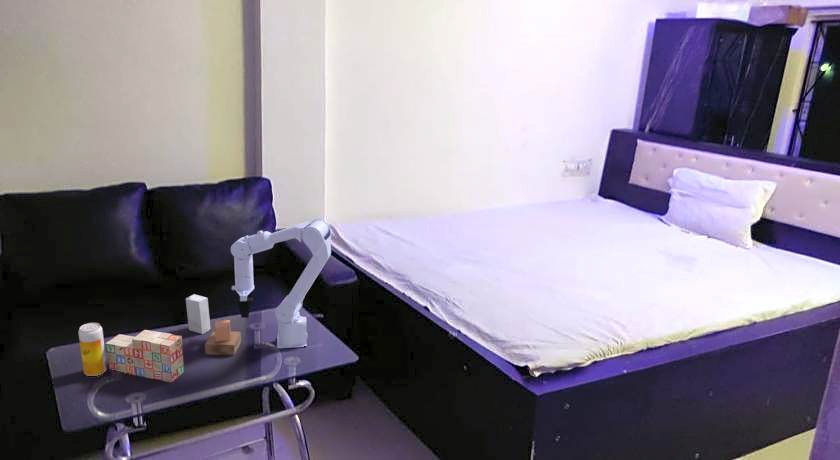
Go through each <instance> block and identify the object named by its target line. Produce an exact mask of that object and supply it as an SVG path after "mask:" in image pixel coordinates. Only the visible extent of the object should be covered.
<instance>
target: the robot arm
mask: <svg viewBox="0 0 840 460" xmlns="http://www.w3.org/2000/svg"><path fill="white" fill-rule="evenodd" d="M332 233H333V232H332V229H331V227H330V225H329V223H328V222H327V221H326V220H324V219H322V218H317V219H314V220H313V221H312V220H307V221H304V222H301V223H297V224H295V225H292V226H289V227H287V228H283V229H281V230H278V231H275V232H270V231H267V230H266V231H264V230H258V231H257V233H256V234H251V235H244V236H242V237H240V238H239V239H236V241H235V242H233V243H232V245H231V246H230V253H231V255H232V257H233V262H234V263H233V264H234V283H235V284H234V285H231V290H232V291H236V293H237V294H238V297H236V296H235V298H234V302H235V304H236V305H237V308H238V310H239V314H240V317H241V318H243V319H245V318H247V319H248V318H249V315H250V310H251V309H250V308H251V306H252V303H253V301H254V297H252V295H253V292H254V290H255V284H254V260H253V259H254V258H253V255H254V254H258V253H261V252H264V251H267V250H270V249H272V248H274V245H275V244H277V243H281V242H286V241H288V240H292V239H296V240H297V241H298V242H299V243H302V242H303V243H304V244H305V245H306V247H307V248H308V249H309V251H310V252H311V254H312V257H311V258H310V260H309V262H308V263H307V265H306V267H305V268H304V270H303V271H302V273H301V274H300V276H299V278H298V279H297V280H296V283H295V284H294V285H293V288H292V289H291V290H290V292H289V294H287V295H286V296H285V297H284V299H283V300H282V301H281V303H279V305H278V306H277V307H276V308H275V310H274V315H275V318H276V319H277V332H278V333H277V337H276V348H277V349H289V348H290V349H292V348H305V347H304V346H306V347H307V345H308V344H307V339H308V332H307V317H306V316H301V314H300V310H301V309H302V307H303V301H304V299H305V296H306V295H307V293H308V291H309V290H310V288H311V287H312V285H313V284H314V282H315V280H316V279H317V278H318V276H319V274H320V273H321V271H322V269H323V268H324V266H325V264H326V263H327V262H328V260H329V258H330V257H331V254H332V241H331V240H332Z"/></svg>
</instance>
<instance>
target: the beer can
mask: <svg viewBox="0 0 840 460" xmlns="http://www.w3.org/2000/svg"><path fill="white" fill-rule="evenodd" d="M78 339H79V347H80V354H81V361H82V368H83V374H84V375H86V376H87V377H88V376H97V377H99V376H98V375H100V376H102V375H104V374H105V373H106V371H107V370H108V365H107V358H106V357H107V355H106V346H105V341H104V331H103V327H102V326H101V324H100V323H98V322H88V323H84V324H83V325H81V326H80V327H79V329H78ZM104 372H105V373H104ZM103 373H104V374H103ZM101 374H102V375H101Z"/></svg>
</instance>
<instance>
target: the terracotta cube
mask: <svg viewBox="0 0 840 460" xmlns="http://www.w3.org/2000/svg"><path fill="white" fill-rule="evenodd" d="M214 331H215V341H216V342H217V341H229V340H230V331H231V320H230V319H225V320H215V322H214Z"/></svg>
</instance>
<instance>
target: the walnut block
mask: <svg viewBox="0 0 840 460" xmlns="http://www.w3.org/2000/svg"><path fill="white" fill-rule="evenodd" d="M241 343H242V331H232V330H230V340H229V341H217V342H216V341H215V330H213V331H212V332H211V333H210V335H209V337H208V339H207V340H206V341H205V344H204V351H205V355H209V356H210V355H211V356H213V355H214V356H235V355H236V353H237V351H238V349H239V347H240V345H241Z"/></svg>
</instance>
